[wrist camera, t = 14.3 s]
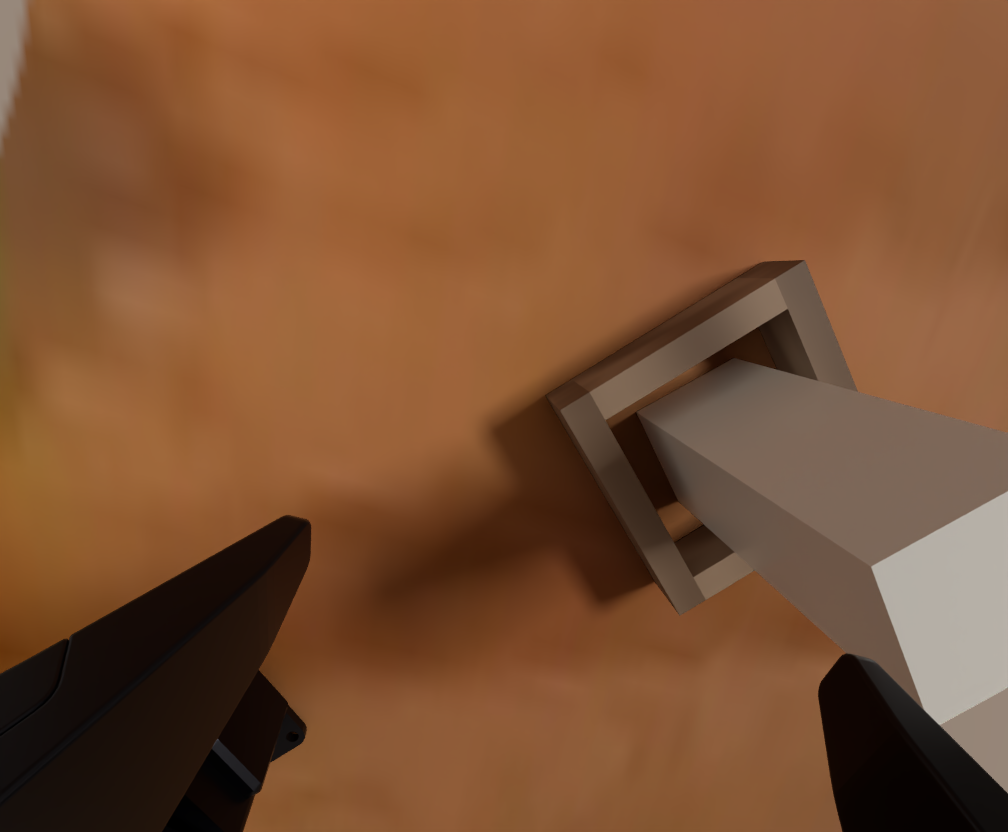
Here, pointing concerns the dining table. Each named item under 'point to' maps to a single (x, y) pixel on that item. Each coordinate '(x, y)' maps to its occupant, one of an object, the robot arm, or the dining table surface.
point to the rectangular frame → (665, 355)
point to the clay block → (855, 518)
